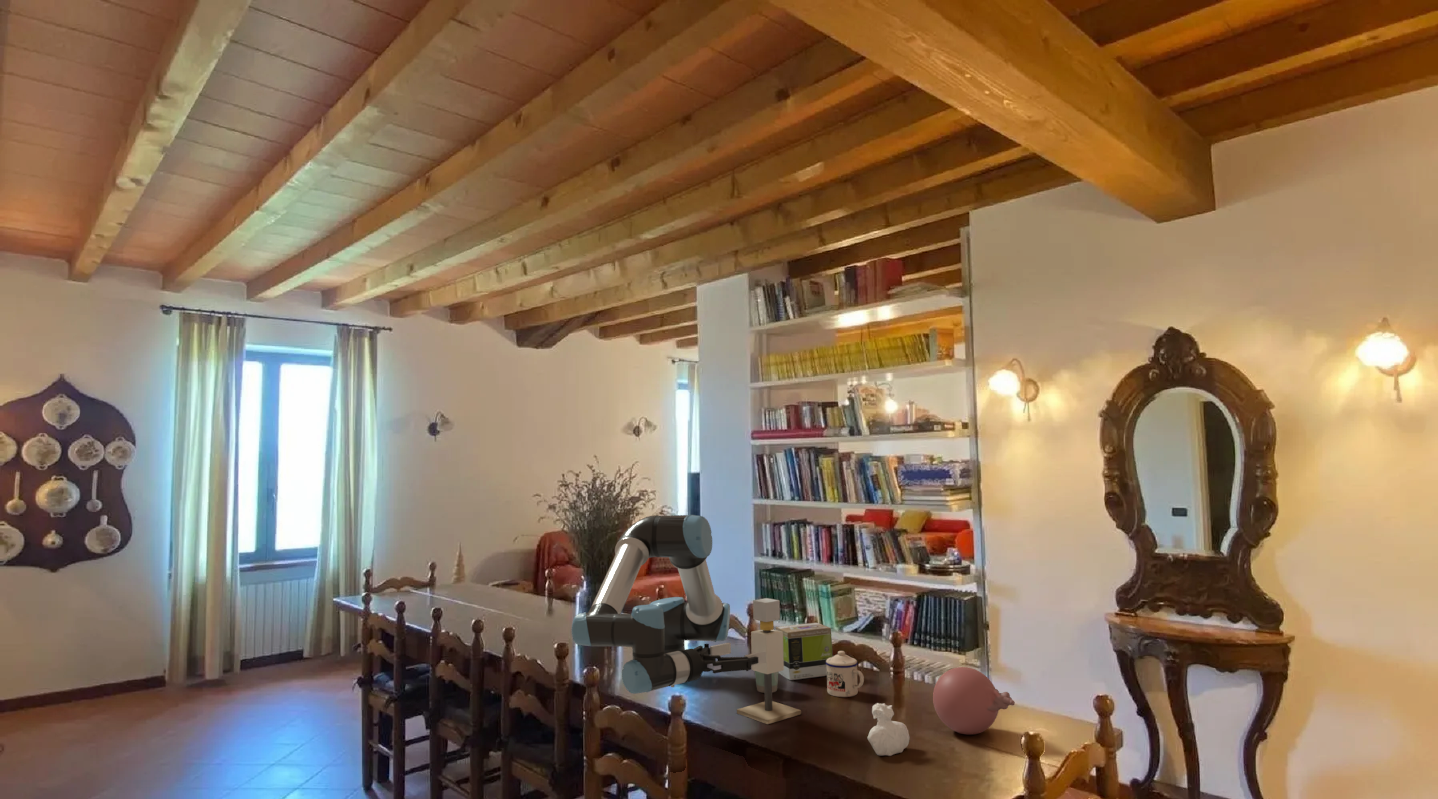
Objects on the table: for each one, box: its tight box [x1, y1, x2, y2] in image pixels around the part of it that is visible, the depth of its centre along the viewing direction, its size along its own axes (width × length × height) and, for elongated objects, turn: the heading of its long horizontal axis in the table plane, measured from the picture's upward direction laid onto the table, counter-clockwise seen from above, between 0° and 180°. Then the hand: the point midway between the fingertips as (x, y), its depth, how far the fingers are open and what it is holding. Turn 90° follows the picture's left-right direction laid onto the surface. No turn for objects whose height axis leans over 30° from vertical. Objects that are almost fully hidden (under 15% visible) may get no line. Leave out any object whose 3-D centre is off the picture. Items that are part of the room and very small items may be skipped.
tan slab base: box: [736, 700, 802, 725], centre depth 208 cm, size 12×12×1 cm
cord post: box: [752, 597, 781, 711], centre depth 209 cm, size 5×5×28 cm
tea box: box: [775, 622, 834, 681], centre depth 246 cm, size 15×10×15 cm, turn 108°
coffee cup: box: [754, 671, 779, 694], centre depth 230 cm, size 8×9×12 cm
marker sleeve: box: [750, 629, 784, 674], centre depth 209 cm, size 6×6×10 cm
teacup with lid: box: [826, 650, 865, 698], centre depth 224 cm, size 12×9×12 cm
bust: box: [867, 702, 910, 757], centre depth 181 cm, size 12×8×11 cm
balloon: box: [932, 666, 1015, 736], centre depth 190 cm, size 15×20×15 cm
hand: (746, 652), depth 204 cm, fingers open, 13 cm apart
